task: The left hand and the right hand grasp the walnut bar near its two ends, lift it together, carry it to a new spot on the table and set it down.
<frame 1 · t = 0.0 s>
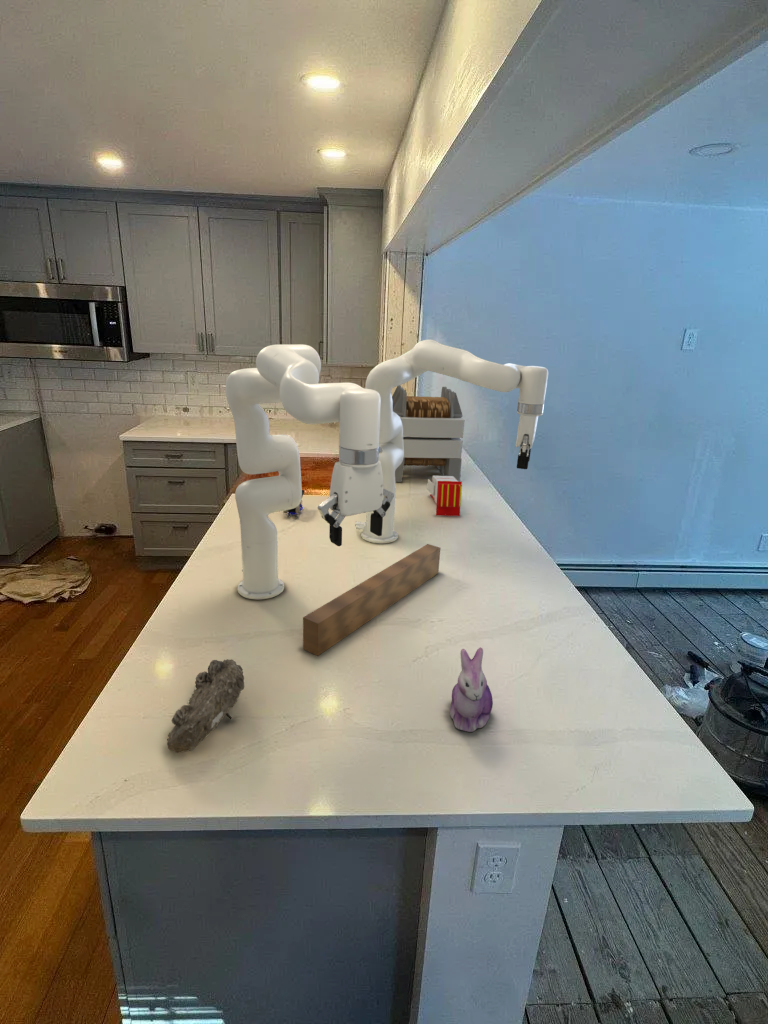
left hand: (356, 538, 113), 31 cm above the counter, tool pointing down, fingers open, 9 cm apart
right hand: (523, 464, 174), 31 cm above the counter, tool pointing down, fingers open, 9 cm apart
figurine character: (294, 513, 215), on the counter
figurine: (470, 717, 111), on the counter
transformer: (419, 473, 275), on the counter
fossil: (212, 717, 108), on the counter
red striped box: (443, 504, 232), on the counter
bar: (379, 606, 151), on the counter
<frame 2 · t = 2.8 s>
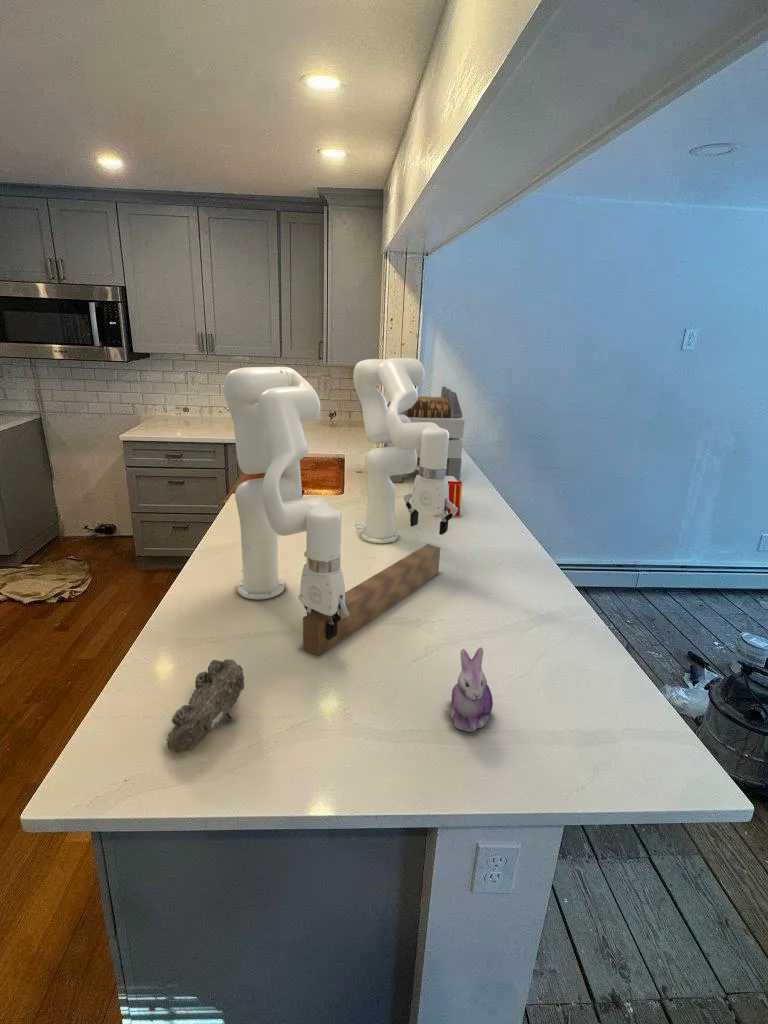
left hand: (323, 632, 132), 3 cm above the counter, tool pointing down, fingers closed on bar, 4 cm apart
right hand: (428, 529, 164), 15 cm above the counter, tool pointing down, fingers open, 9 cm apart
bar: (379, 606, 151), on the counter, touching left hand
everything else where it was.
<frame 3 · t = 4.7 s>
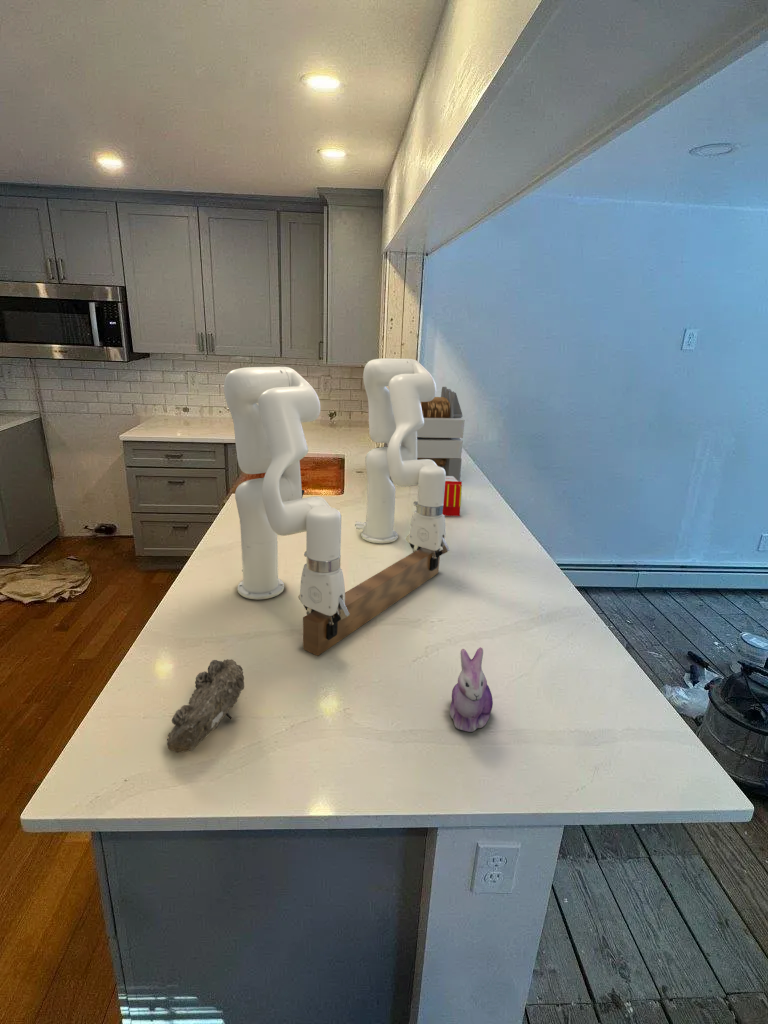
left hand: (323, 632, 132), 3 cm above the counter, tool pointing down, fingers closed on bar, 4 cm apart
right hand: (425, 566, 168), 3 cm above the counter, tool pointing down, fingers closed on bar, 4 cm apart
bar: (379, 606, 151), on the counter, touching right hand, left hand
everything else where it was.
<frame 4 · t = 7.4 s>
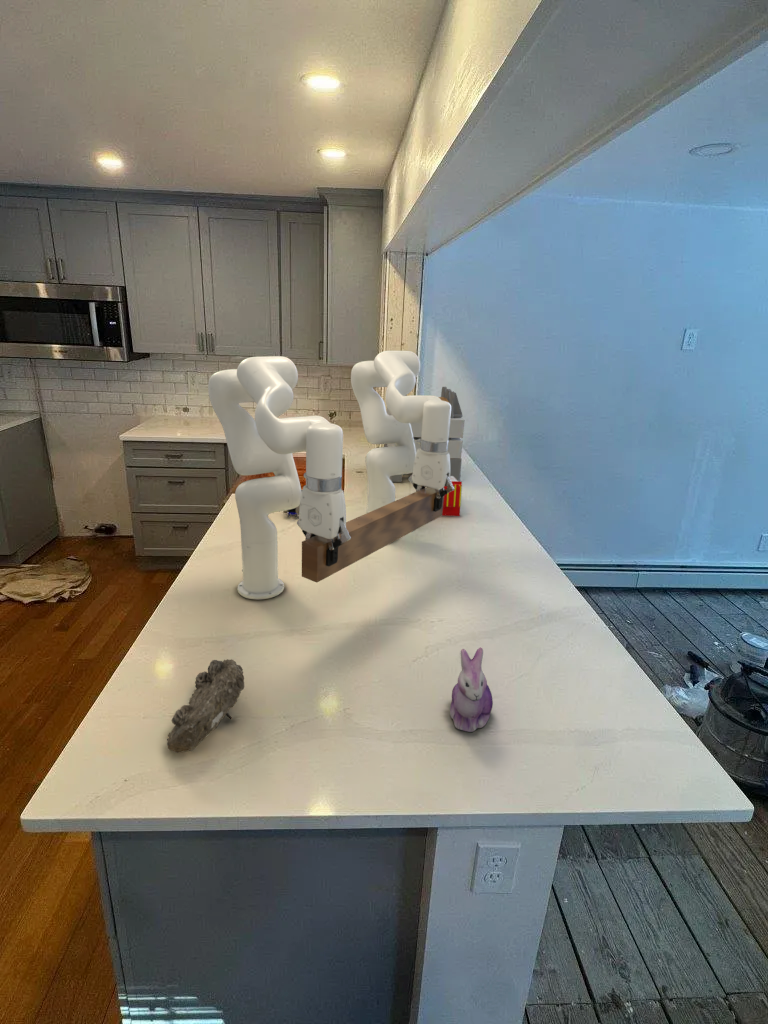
left hand: (322, 559, 126), 22 cm above the counter, tool pointing down, fingers closed on bar, 4 cm apart
right hand: (429, 507, 162), 22 cm above the counter, tool pointing down, fingers closed on bar, 4 cm apart
bar: (381, 541, 145), point 18 cm above the counter, touching right hand, left hand
everything else where it was.
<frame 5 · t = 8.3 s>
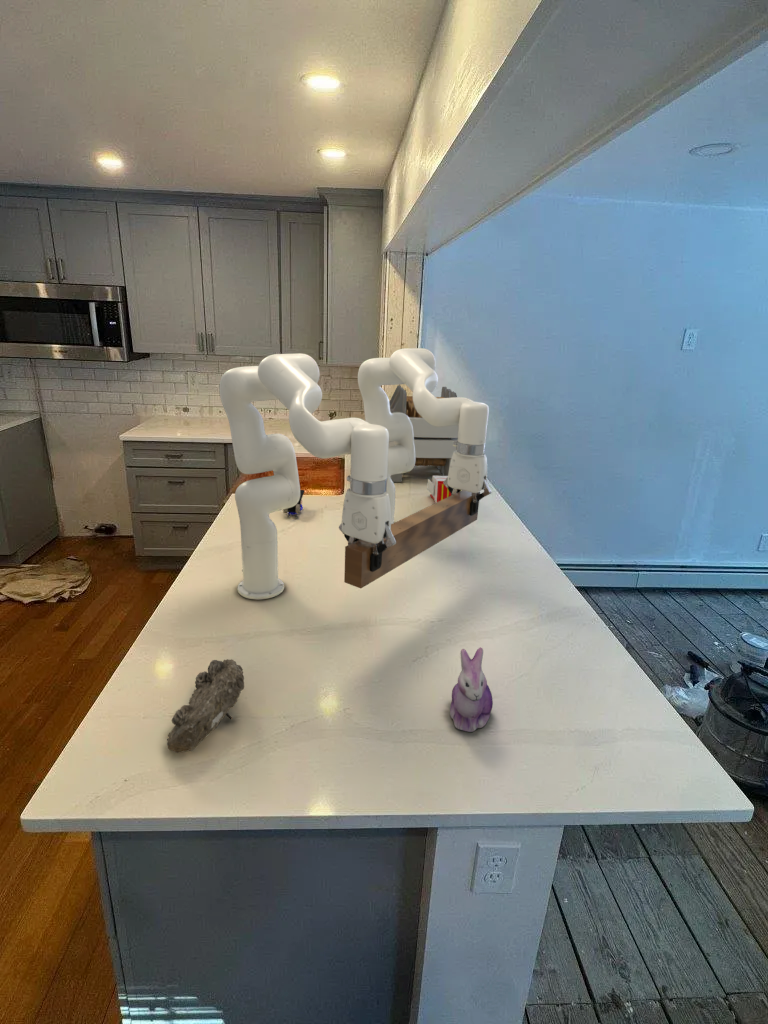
left hand: (365, 565, 123), 22 cm above the counter, tool pointing down, fingers closed on bar, 4 cm apart
right hand: (464, 511, 159), 22 cm above the counter, tool pointing down, fingers closed on bar, 4 cm apart
bar: (420, 546, 142), point 19 cm above the counter, touching right hand, left hand
everything else where it was.
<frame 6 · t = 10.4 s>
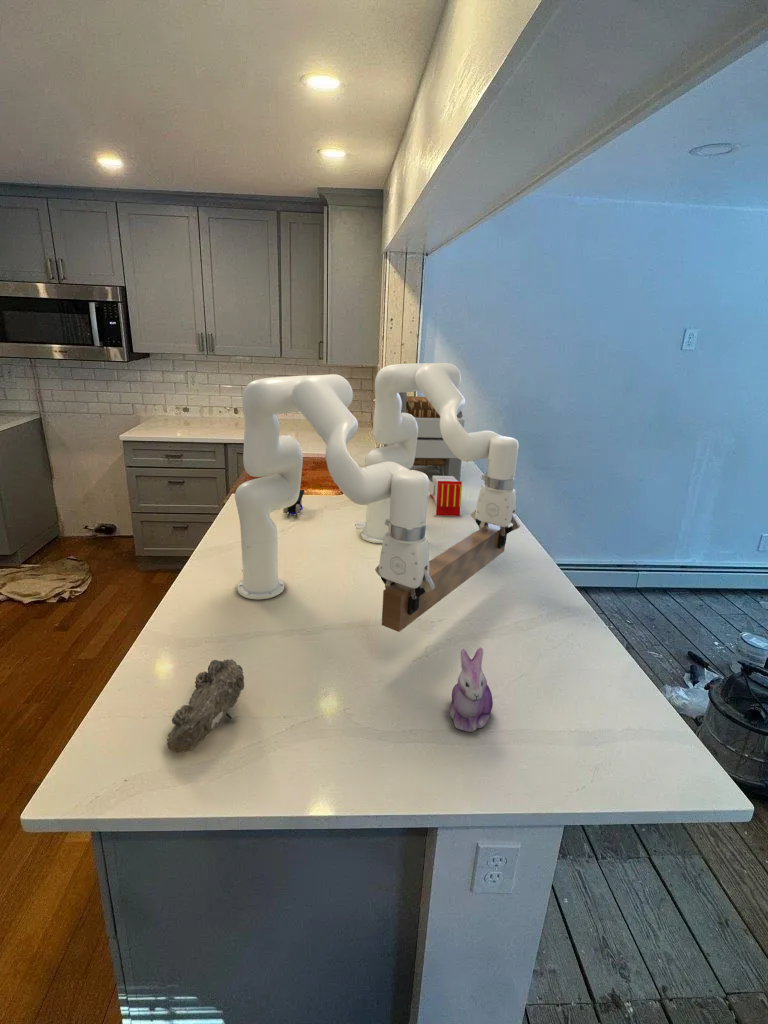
left hand: (402, 607, 123), 14 cm above the counter, tool pointing down, fingers closed on bar, 4 cm apart
right hand: (492, 544, 159), 14 cm above the counter, tool pointing down, fingers closed on bar, 4 cm apart
bar: (451, 583, 142), point 11 cm above the counter, touching right hand, left hand
everything else where it was.
when the left hand's fingers open (4 cm above the counter, at t = 12.1 s): bar drops 1 cm, on the counter.
when the right hand's fingers open (4 cm above the counter, at t = 12.1 s): bar drops 1 cm, on the counter.
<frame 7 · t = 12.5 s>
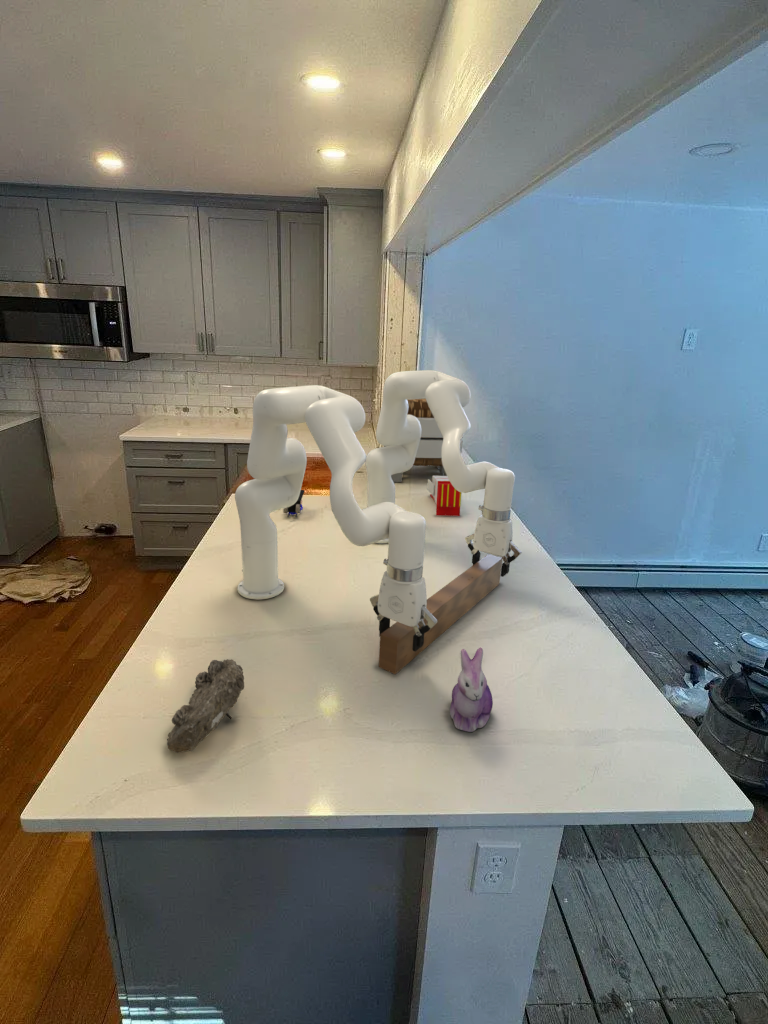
left hand: (400, 641, 126), 6 cm above the counter, tool pointing down, fingers open, 8 cm apart
right hand: (489, 570, 162), 6 cm above the counter, tool pointing down, fingers open, 8 cm apart
bar: (447, 619, 146), on the counter
everything else where it was.
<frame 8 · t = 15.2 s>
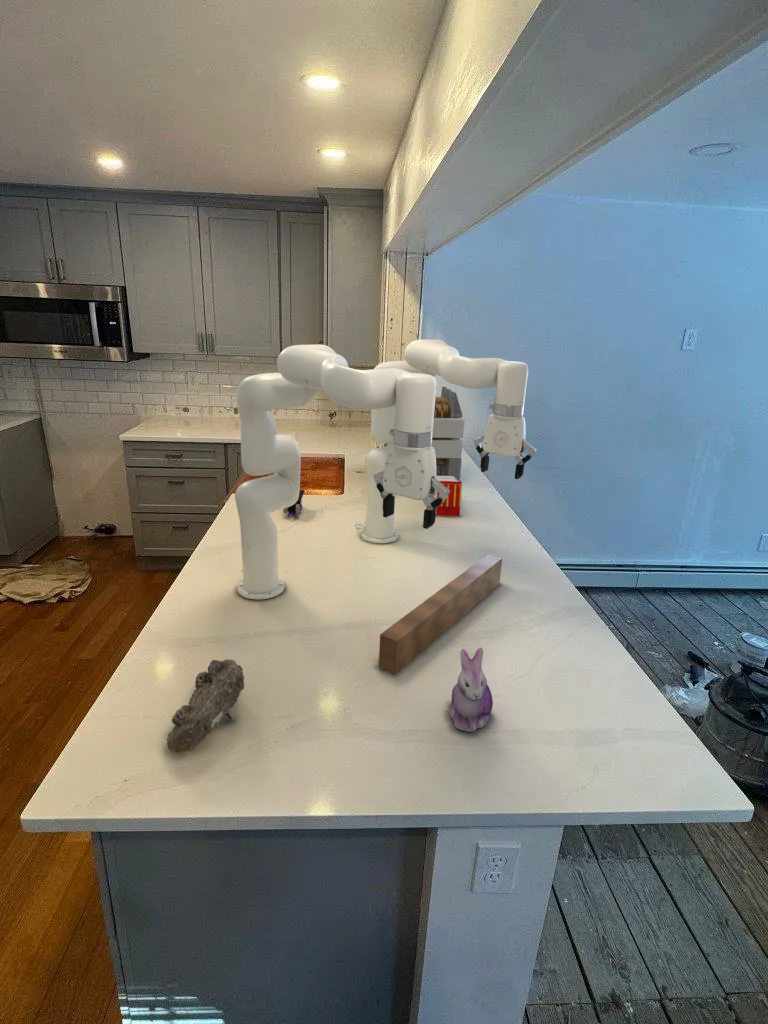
left hand: (407, 521, 116), 34 cm above the counter, tool pointing down, fingers open, 9 cm apart
right hand: (500, 474, 152), 34 cm above the counter, tool pointing down, fingers open, 9 cm apart
nothing on the counter moved.
at the end: bar inside the target area (0.4 cm from its centre), on the counter; bar tilted 0°; bar never tilted more than 2° during the clip; both hands held the bar at the same time; the left hand is holding nothing; the right hand is holding nothing; bar at rest at the end (0.0 cm/s) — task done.
